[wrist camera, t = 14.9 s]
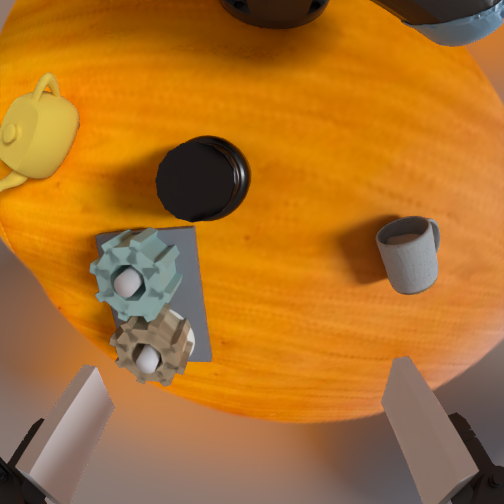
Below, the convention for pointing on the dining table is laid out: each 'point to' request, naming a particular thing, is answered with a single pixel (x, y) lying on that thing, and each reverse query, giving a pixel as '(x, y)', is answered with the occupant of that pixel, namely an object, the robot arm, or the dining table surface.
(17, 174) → the teapot
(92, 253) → the dining table surface
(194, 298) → the gear board
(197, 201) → the ink bottle
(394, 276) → the ceramic mug
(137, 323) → the birch gear
